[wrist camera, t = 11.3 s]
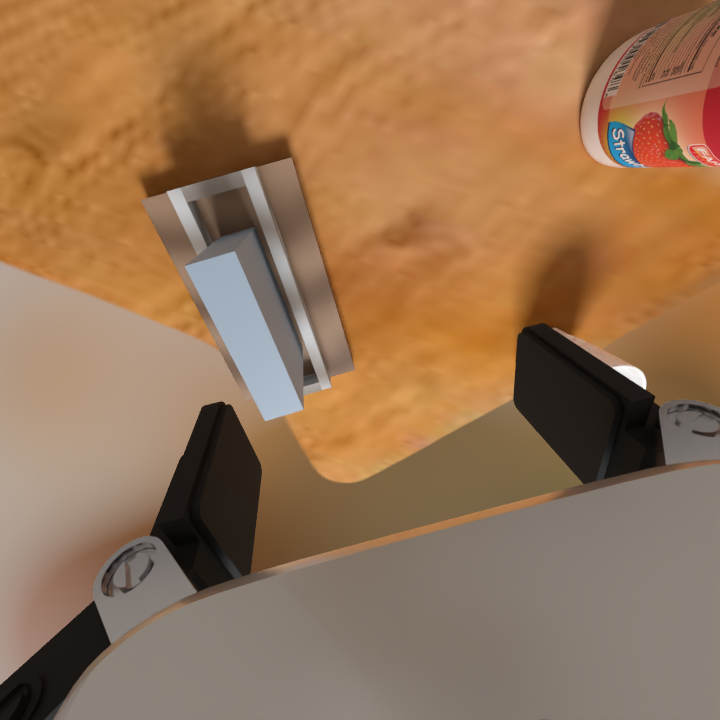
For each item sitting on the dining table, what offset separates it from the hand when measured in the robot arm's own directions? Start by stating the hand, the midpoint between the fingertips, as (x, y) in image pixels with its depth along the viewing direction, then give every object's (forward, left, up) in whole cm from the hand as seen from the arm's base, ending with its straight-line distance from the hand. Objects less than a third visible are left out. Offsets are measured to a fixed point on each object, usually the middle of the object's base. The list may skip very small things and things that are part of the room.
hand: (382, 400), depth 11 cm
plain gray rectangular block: (+2, -7, -22) cm, 23 cm away
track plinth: (+2, -7, -24) cm, 25 cm away
